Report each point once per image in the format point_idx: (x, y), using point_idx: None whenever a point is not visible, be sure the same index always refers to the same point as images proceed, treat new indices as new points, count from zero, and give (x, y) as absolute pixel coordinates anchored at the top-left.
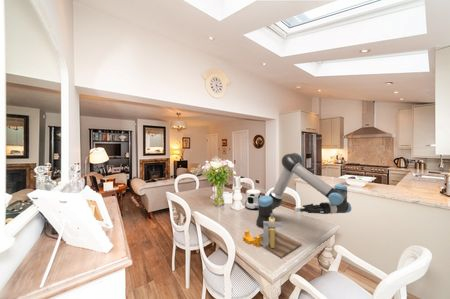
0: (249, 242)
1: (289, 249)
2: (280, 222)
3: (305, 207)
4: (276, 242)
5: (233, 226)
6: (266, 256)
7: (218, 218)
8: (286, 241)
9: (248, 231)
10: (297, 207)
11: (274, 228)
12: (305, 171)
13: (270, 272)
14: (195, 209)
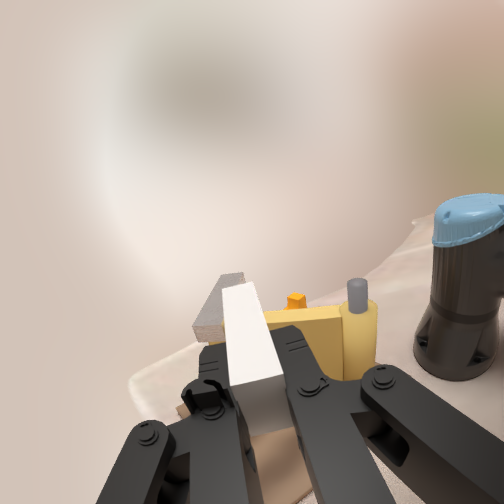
0: None
1: None
2: (216, 319)
3: (198, 383)
4: None
5: (377, 282)
6: (198, 375)
7: (405, 251)
8: (295, 445)
9: (295, 299)
10: (247, 302)
11: (349, 366)
12: None
13: (132, 376)
14: (419, 219)
